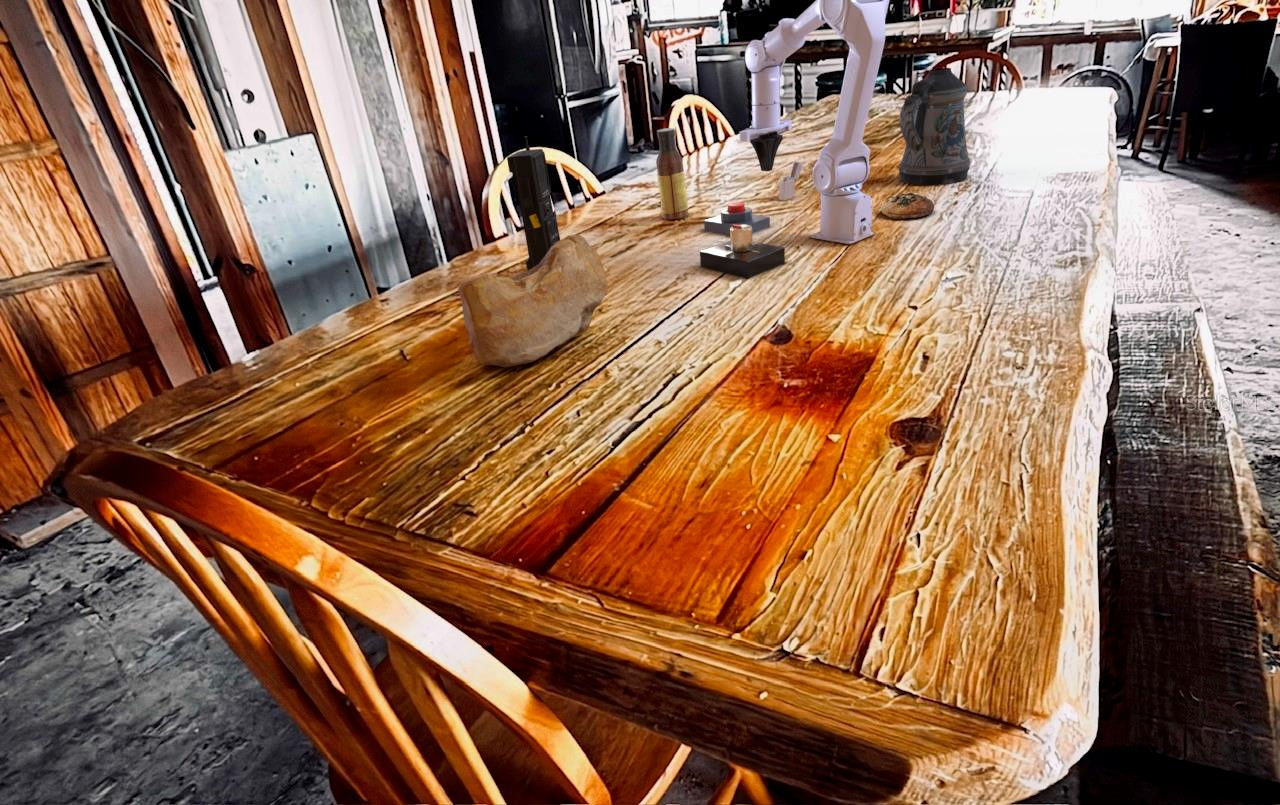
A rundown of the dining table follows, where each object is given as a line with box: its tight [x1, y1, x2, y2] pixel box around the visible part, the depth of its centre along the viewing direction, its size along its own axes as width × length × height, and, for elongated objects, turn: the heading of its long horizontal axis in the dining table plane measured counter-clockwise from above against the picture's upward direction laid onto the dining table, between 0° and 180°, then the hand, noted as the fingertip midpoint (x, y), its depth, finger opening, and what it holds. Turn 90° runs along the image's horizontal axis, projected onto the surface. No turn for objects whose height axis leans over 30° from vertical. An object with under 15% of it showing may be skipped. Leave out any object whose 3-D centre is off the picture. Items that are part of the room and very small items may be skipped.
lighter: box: [778, 161, 803, 202], centre depth 172 cm, size 7×2×8 cm, turn 130°
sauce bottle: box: [655, 127, 689, 221], centre depth 163 cm, size 7×6×20 cm
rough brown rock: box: [457, 234, 609, 368], centre depth 105 cm, size 23×17×15 cm
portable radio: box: [506, 135, 561, 271], centre depth 134 cm, size 8×6×25 cm
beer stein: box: [898, 67, 971, 186], centre depth 170 cm, size 16×19×25 cm
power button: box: [727, 201, 746, 213], centre depth 151 cm, size 4×4×2 cm
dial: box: [729, 224, 754, 252], centre depth 129 cm, size 4×4×4 cm
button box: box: [703, 206, 771, 236], centre depth 152 cm, size 11×9×4 cm
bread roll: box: [880, 192, 935, 220], centre depth 150 cm, size 11×11×5 cm
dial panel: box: [699, 240, 786, 279], centre depth 130 cm, size 12×10×3 cm
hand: (766, 170), depth 154 cm, fingers closed
